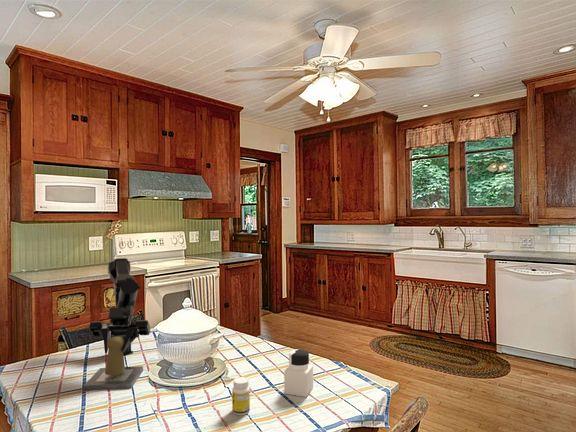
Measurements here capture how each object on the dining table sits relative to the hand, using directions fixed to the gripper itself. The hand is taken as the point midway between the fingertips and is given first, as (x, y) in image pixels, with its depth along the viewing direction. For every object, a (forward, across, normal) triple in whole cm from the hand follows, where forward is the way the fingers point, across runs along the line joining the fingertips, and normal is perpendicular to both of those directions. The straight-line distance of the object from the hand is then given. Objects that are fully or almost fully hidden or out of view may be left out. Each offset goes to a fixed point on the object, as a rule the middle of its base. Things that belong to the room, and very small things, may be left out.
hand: (114, 352), depth 121 cm
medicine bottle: (+16, +58, -3) cm, 60 cm away
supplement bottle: (+24, +40, -11) cm, 48 cm away
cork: (+4, 0, +6) cm, 7 cm away
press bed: (+6, 0, +7) cm, 9 cm away
